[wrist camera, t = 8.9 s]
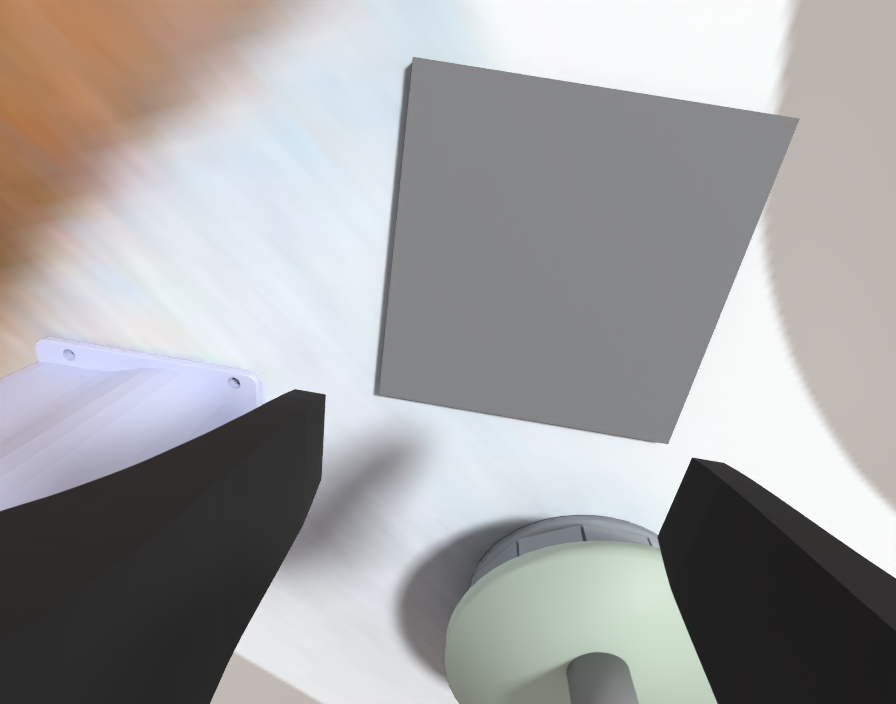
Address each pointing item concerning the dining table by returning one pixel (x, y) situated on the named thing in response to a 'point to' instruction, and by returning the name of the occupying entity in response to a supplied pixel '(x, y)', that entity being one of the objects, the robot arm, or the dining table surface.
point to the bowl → (561, 538)
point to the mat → (567, 245)
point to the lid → (574, 631)
